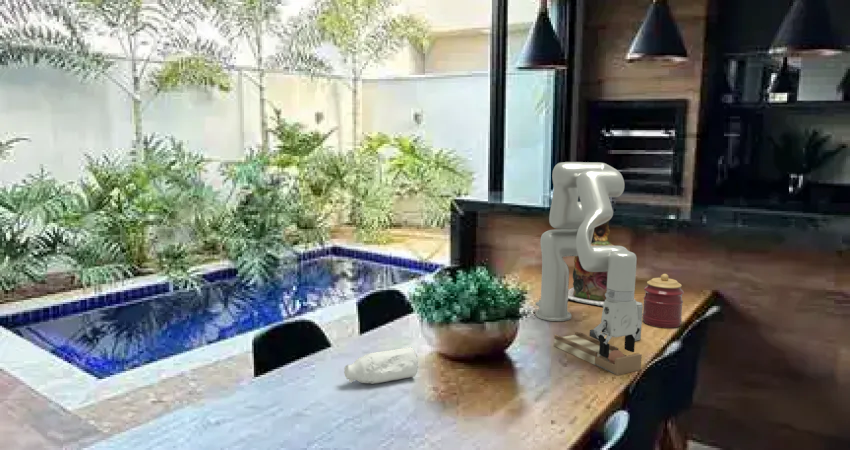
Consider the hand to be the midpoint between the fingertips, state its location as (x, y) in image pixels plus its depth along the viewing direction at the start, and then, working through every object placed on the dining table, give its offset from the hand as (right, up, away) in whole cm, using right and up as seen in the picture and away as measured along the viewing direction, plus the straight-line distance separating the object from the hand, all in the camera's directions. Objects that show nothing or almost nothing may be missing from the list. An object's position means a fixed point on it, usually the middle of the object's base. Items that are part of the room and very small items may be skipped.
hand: (616, 353), depth 183 cm
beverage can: (+13, -1, +25) cm, 28 cm away
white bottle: (-65, -5, -12) cm, 67 cm away
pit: (0, -4, +1) cm, 4 cm away
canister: (+29, +2, +43) cm, 52 cm away
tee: (0, 0, +24) cm, 24 cm away
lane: (-6, -2, +12) cm, 13 cm away
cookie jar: (+14, +7, +76) cm, 77 cm away
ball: (0, -3, +1) cm, 4 cm away
